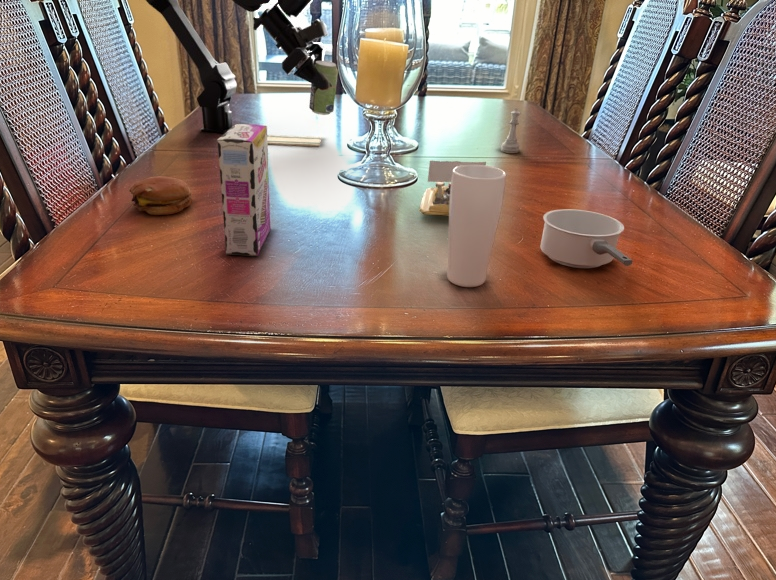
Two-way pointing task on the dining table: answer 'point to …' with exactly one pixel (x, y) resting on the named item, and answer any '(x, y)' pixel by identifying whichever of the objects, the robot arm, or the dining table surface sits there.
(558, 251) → the saucepan
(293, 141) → the towel
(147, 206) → the burger
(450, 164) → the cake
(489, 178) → the drinking glass
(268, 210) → the white pink box
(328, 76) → the beverage can
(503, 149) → the chess piece
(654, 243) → the dining table surface
